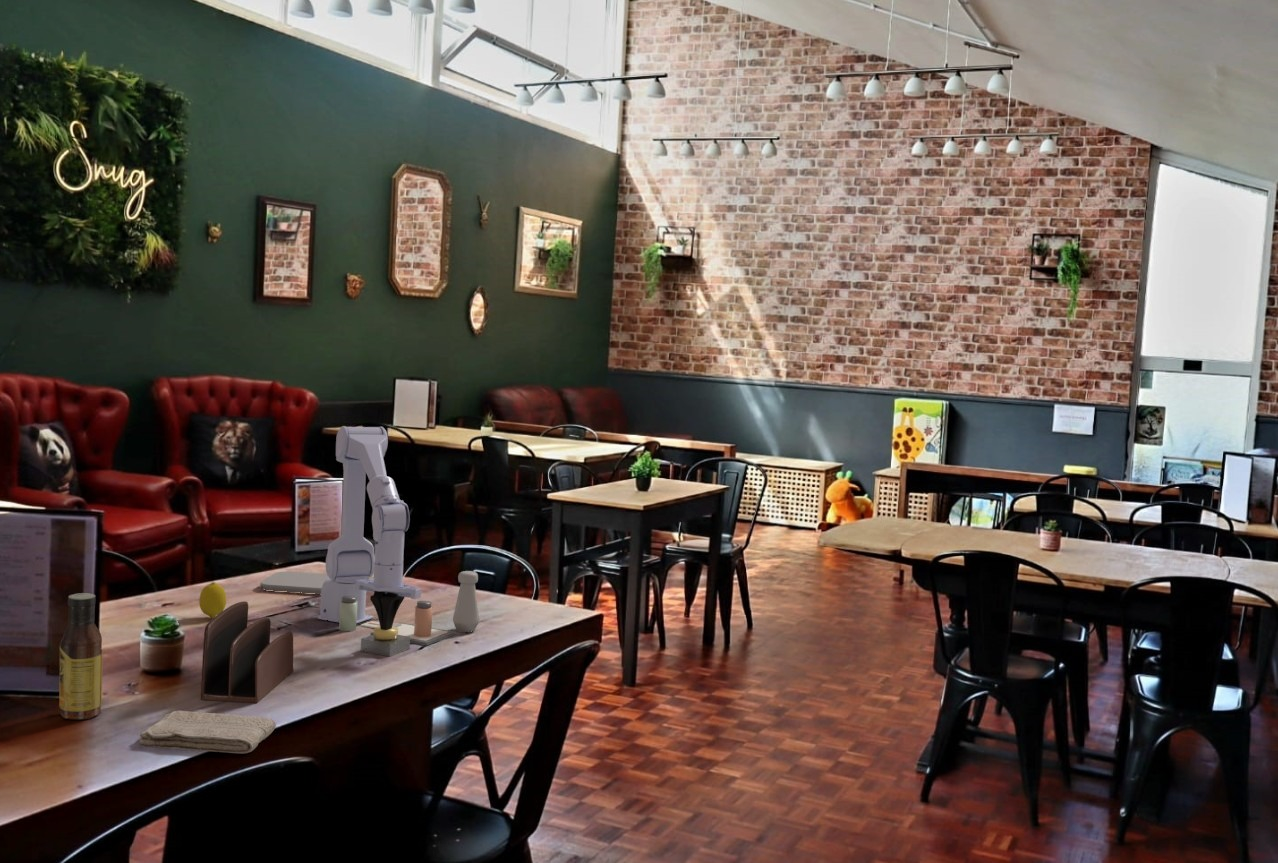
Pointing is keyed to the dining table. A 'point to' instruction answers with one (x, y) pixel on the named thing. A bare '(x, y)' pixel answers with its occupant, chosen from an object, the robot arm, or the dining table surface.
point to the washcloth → (208, 732)
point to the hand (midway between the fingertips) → (386, 629)
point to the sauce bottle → (80, 661)
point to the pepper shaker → (423, 619)
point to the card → (371, 624)
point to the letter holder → (243, 657)
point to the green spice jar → (348, 613)
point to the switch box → (385, 645)
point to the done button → (385, 633)
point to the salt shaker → (466, 603)
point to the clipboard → (409, 631)
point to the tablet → (296, 582)
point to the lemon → (212, 600)
